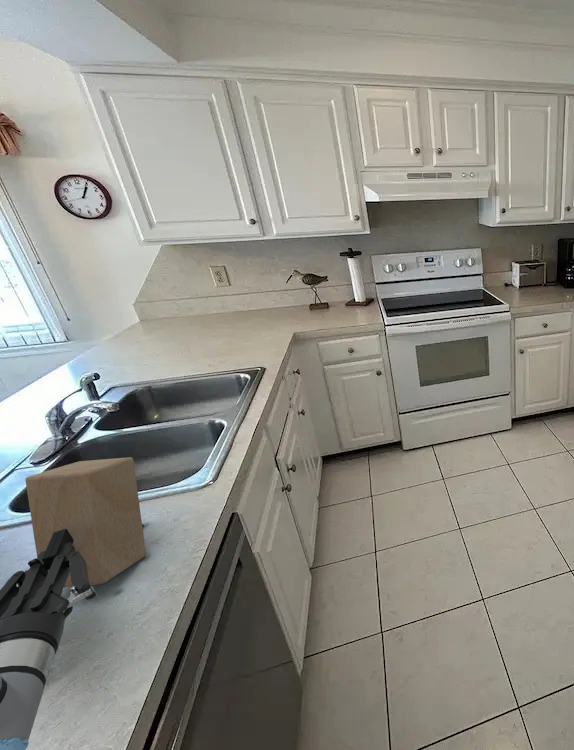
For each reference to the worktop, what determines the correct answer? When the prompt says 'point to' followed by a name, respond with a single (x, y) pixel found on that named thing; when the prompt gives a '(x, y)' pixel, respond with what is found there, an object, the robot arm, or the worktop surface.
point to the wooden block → (90, 513)
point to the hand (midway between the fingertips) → (64, 536)
